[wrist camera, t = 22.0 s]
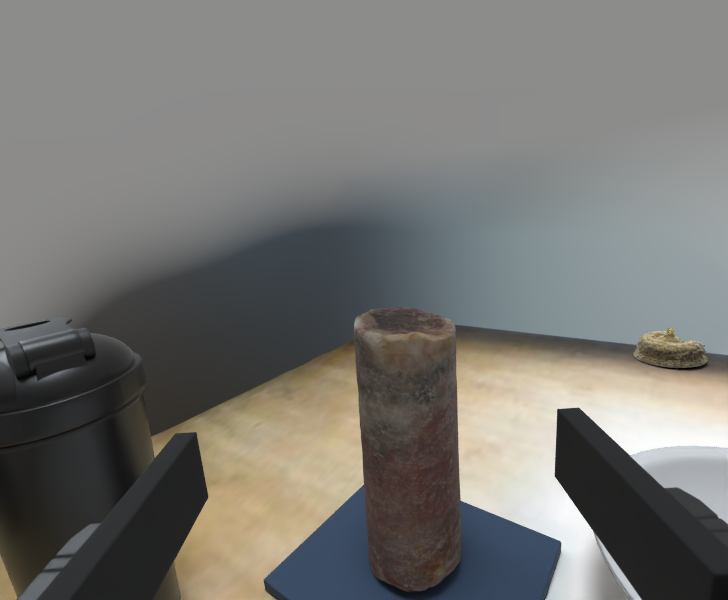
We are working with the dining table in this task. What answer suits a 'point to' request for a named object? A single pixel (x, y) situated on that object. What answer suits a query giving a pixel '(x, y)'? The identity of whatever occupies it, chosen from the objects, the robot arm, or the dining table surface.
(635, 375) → the dining table surface
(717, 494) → the soup bowl
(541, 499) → the dining table surface
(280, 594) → the mat
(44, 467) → the water bottle
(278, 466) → the dining table surface
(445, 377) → the candle
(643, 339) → the cake
